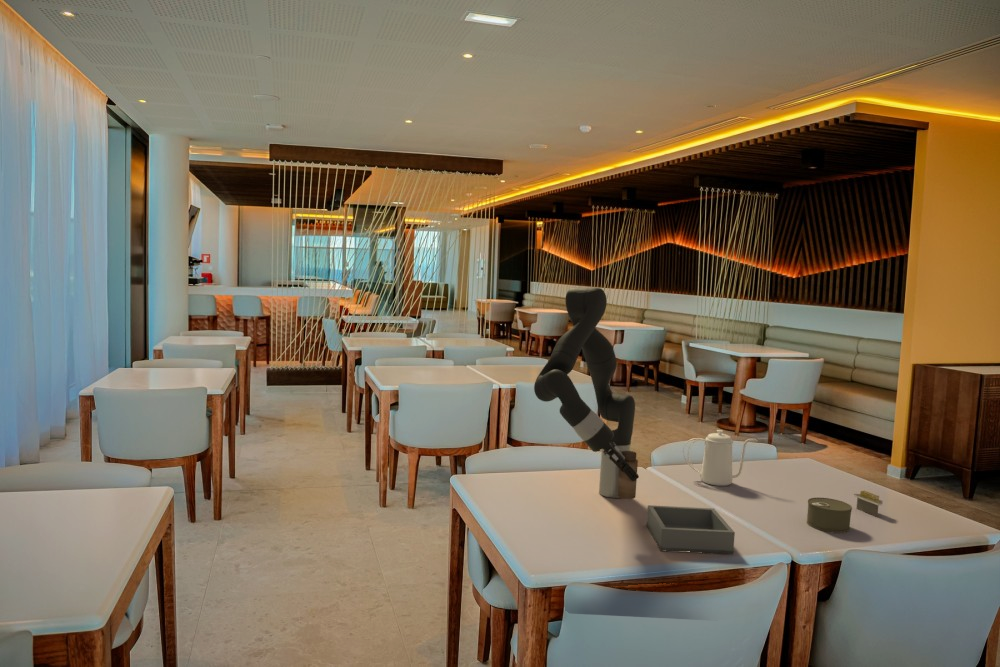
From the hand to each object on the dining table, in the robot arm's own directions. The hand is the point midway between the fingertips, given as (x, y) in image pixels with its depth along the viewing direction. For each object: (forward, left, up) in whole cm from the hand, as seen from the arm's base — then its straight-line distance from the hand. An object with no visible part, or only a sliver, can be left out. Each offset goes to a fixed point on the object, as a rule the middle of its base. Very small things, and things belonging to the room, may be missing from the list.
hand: (634, 475), depth 195 cm
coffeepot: (-60, +41, -18) cm, 75 cm away
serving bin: (-2, +16, -18) cm, 24 cm away
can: (-19, +62, -18) cm, 67 cm away
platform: (-34, +82, -18) cm, 90 cm away
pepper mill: (0, -2, -6) cm, 6 cm away
